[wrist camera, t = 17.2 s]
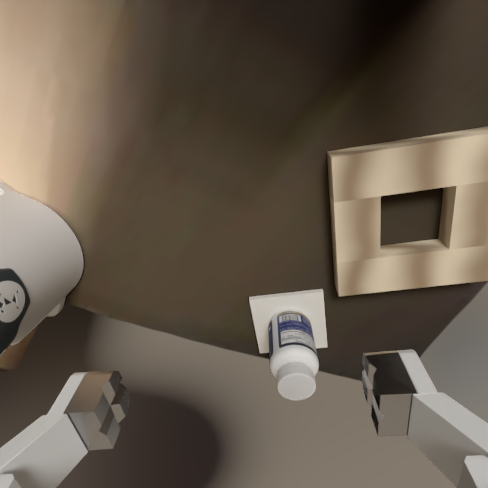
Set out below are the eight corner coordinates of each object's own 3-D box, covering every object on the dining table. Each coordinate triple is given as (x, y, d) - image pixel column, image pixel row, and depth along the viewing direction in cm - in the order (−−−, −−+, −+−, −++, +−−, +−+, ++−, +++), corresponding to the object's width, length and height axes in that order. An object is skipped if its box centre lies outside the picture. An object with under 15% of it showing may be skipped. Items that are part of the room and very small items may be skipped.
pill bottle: (291, 346, 46) (297, 412, 37) (259, 326, 45) (259, 389, 36) (319, 322, 44) (334, 386, 35) (287, 300, 42) (294, 361, 34)
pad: (259, 350, 47) (259, 353, 47) (249, 296, 43) (249, 299, 43) (326, 344, 46) (327, 347, 46) (322, 288, 42) (323, 291, 42)
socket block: (334, 284, 42) (338, 296, 40) (326, 151, 34) (331, 157, 32) (476, 268, 40) (488, 280, 38) (499, 124, 33) (516, 129, 30)
